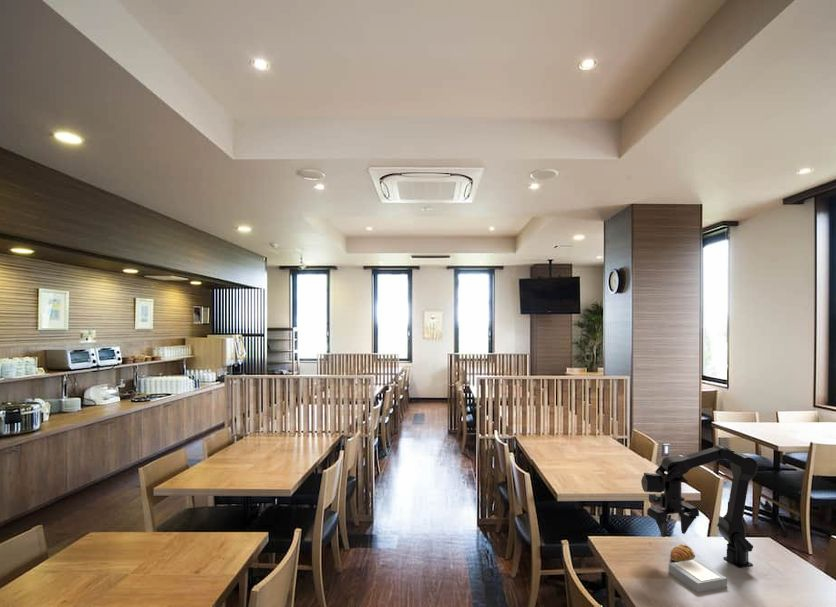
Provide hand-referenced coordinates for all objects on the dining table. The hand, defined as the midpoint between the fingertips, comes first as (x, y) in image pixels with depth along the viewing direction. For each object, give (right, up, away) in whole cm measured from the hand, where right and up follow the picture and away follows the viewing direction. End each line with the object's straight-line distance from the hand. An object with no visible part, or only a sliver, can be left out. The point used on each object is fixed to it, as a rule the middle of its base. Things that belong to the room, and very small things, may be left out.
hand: (673, 534), depth 164 cm
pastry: (-1, -10, 0) cm, 10 cm away
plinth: (0, -8, -14) cm, 16 cm away
